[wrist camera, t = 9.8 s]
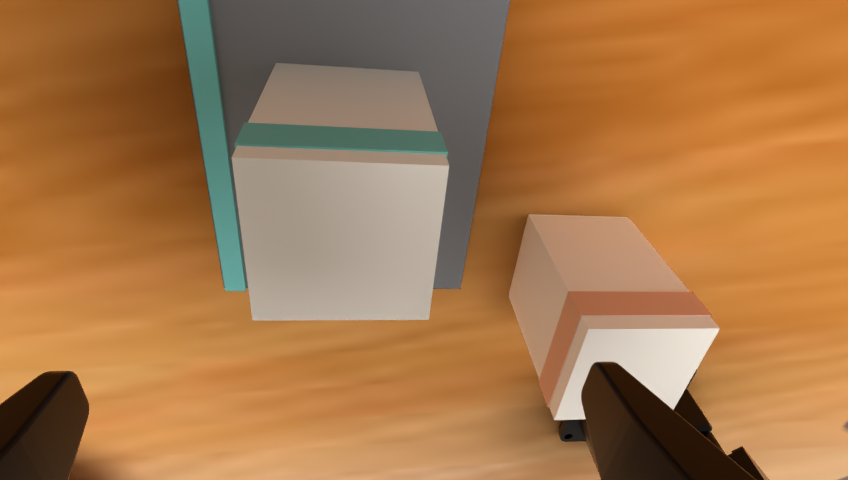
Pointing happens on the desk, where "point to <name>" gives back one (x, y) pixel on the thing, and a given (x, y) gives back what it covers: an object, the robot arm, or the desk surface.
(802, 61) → the desk surface
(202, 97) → the plate
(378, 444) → the desk surface
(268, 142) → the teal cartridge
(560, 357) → the light grey boxy piece
